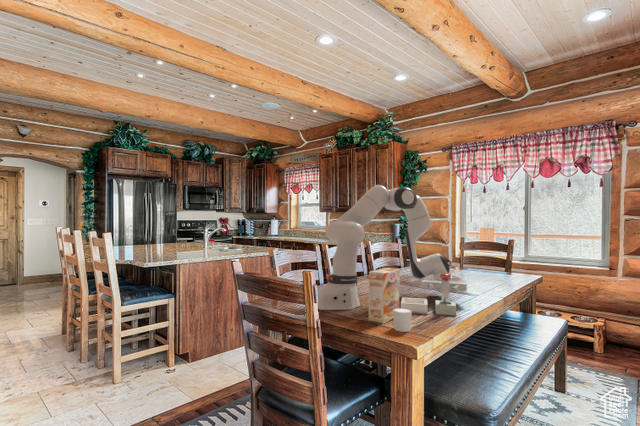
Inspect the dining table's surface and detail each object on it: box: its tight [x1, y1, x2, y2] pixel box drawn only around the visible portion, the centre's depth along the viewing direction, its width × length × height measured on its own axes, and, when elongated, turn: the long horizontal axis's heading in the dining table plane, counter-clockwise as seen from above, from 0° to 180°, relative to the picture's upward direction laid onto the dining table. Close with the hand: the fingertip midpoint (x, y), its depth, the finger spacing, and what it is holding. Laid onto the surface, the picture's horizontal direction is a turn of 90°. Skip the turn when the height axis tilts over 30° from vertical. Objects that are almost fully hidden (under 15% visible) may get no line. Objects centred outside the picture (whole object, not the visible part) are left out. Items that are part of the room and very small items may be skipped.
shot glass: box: [393, 307, 413, 333], centre depth 130 cm, size 7×7×7 cm
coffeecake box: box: [368, 267, 401, 324], centre depth 144 cm, size 15×7×20 cm, turn 143°
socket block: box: [434, 299, 457, 316], centre depth 153 cm, size 8×8×4 cm
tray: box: [400, 296, 428, 315], centre depth 156 cm, size 11×11×4 cm
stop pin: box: [440, 273, 452, 304], centre depth 153 cm, size 4×4×16 cm
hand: (444, 288), depth 159 cm, fingers open, 8 cm apart
